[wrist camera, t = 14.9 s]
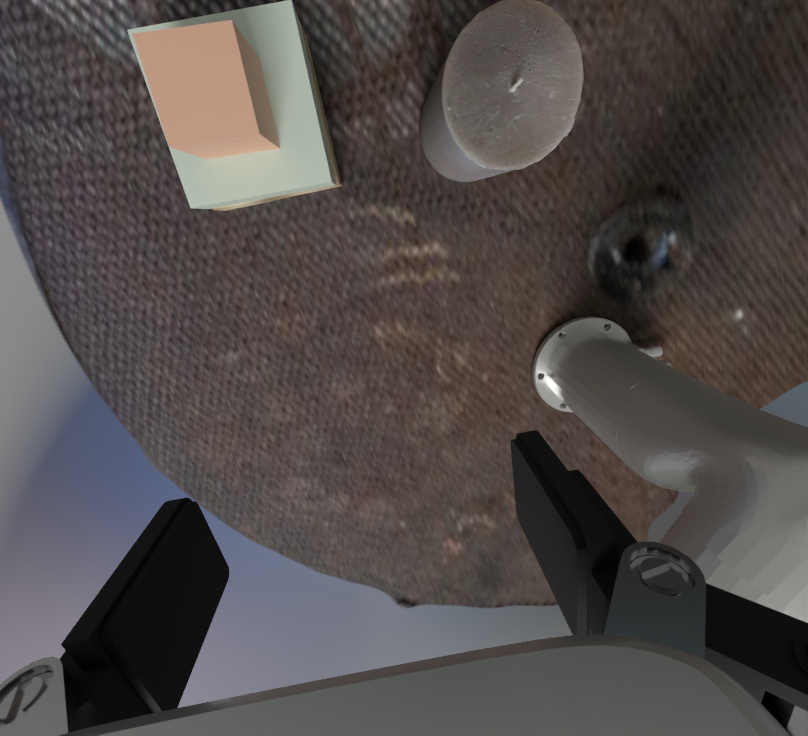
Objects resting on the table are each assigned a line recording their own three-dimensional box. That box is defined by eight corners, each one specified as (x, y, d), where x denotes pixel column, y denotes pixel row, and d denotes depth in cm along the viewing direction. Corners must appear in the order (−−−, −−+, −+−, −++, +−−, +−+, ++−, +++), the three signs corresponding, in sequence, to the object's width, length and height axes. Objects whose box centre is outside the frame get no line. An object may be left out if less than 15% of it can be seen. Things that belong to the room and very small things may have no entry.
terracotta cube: (259, 57, 29) (231, 19, 23) (280, 148, 31) (259, 133, 25) (179, 69, 29) (132, 33, 23) (206, 159, 31) (169, 146, 25)
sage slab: (301, 25, 31) (291, -1, 28) (336, 185, 36) (331, 181, 32) (156, 51, 31) (127, 29, 27) (209, 209, 36) (190, 208, 32)
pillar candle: (439, 51, 35) (479, -50, 22) (532, 94, 37) (625, 26, 23) (405, 163, 39) (421, 137, 25) (492, 198, 40) (552, 191, 27)
